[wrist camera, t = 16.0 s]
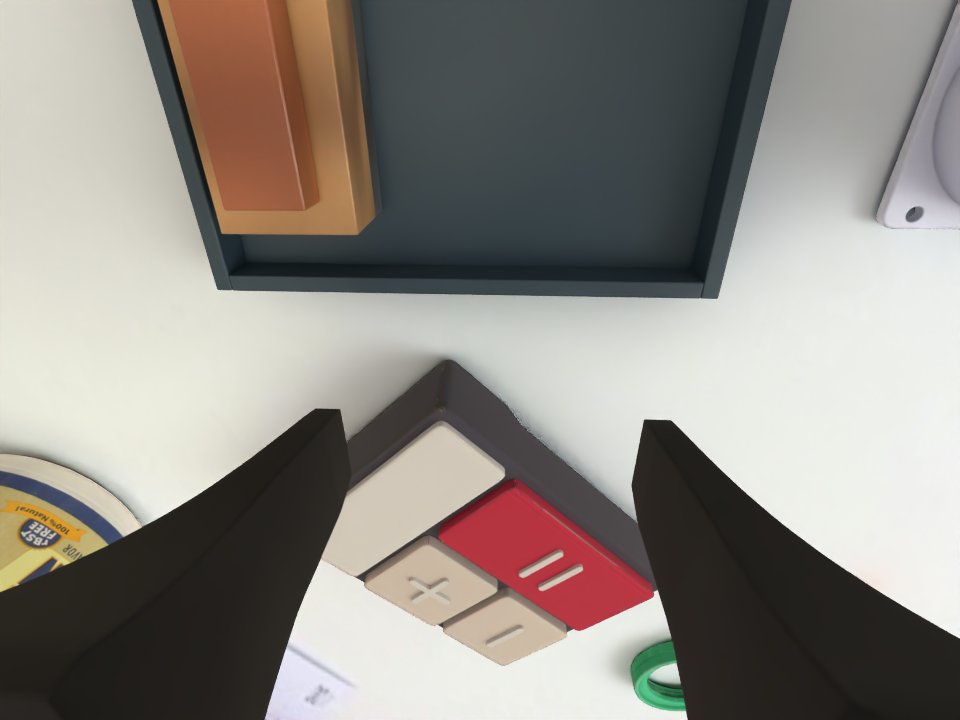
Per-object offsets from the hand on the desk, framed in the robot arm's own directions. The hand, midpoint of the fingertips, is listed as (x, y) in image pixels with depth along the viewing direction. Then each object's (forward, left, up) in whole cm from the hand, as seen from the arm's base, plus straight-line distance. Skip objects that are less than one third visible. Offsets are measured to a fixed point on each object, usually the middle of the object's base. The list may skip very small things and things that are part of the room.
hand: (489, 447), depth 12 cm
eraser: (+7, -8, -9) cm, 13 cm away
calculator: (+1, +12, -10) cm, 15 cm away
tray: (+2, -8, -9) cm, 12 cm away
